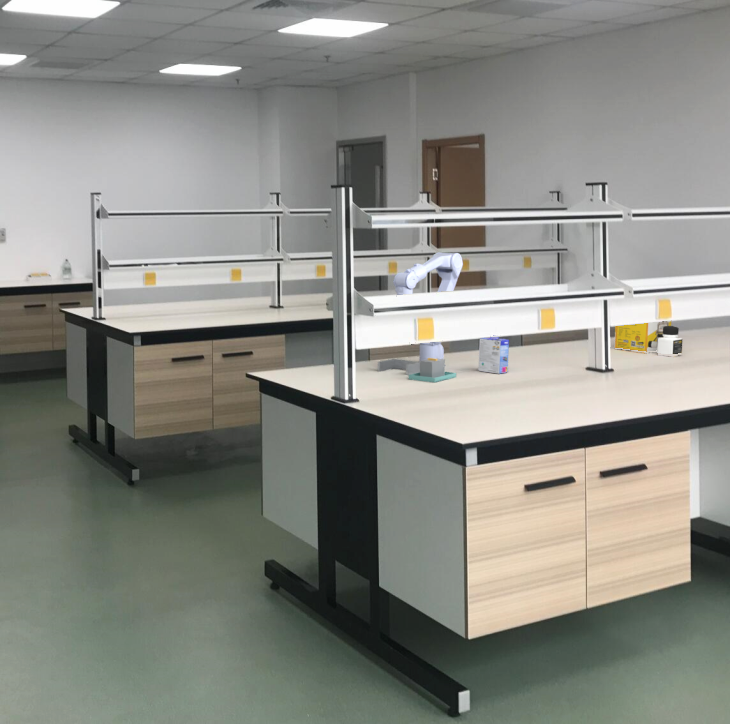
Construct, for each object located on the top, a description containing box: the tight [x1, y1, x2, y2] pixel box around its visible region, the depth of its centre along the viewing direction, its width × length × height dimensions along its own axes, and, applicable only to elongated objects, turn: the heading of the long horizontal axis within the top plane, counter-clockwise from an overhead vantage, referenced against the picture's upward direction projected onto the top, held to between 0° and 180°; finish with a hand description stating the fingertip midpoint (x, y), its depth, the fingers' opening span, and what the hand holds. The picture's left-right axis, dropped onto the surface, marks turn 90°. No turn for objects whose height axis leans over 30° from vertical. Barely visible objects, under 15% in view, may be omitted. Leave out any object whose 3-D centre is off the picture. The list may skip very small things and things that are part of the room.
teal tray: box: [408, 371, 457, 383], centre depth 338 cm, size 14×11×2 cm
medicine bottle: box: [656, 325, 683, 354], centre depth 393 cm, size 7×7×12 cm
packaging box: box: [613, 320, 672, 352], centre depth 408 cm, size 16×16×25 cm
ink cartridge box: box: [477, 336, 510, 375], centre depth 351 cm, size 10×6×14 cm, turn 46°
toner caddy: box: [420, 358, 446, 378], centre depth 338 cm, size 8×5×7 cm, turn 143°
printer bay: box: [377, 358, 420, 376], centre depth 352 cm, size 10×14×4 cm
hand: (403, 343), depth 349 cm, fingers open, 7 cm apart
